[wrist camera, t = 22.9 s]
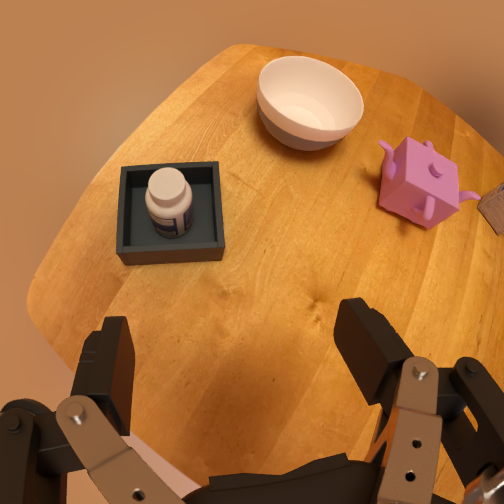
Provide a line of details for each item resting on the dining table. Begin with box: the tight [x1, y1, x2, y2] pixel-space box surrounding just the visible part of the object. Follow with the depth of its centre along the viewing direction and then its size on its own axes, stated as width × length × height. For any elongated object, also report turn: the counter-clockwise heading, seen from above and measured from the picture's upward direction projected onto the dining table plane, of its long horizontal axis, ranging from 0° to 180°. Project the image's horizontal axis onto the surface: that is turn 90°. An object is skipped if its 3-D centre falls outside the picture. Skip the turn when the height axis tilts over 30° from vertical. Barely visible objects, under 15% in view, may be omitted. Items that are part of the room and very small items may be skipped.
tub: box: [116, 161, 225, 265], centre depth 40 cm, size 13×12×5 cm
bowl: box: [257, 56, 363, 151], centre depth 46 cm, size 16×16×10 cm
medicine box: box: [477, 182, 504, 235], centre depth 50 cm, size 8×4×9 cm, turn 44°
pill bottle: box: [145, 167, 193, 238], centre depth 37 cm, size 5×5×10 cm
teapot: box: [379, 137, 480, 229], centre depth 45 cm, size 15×13×11 cm
